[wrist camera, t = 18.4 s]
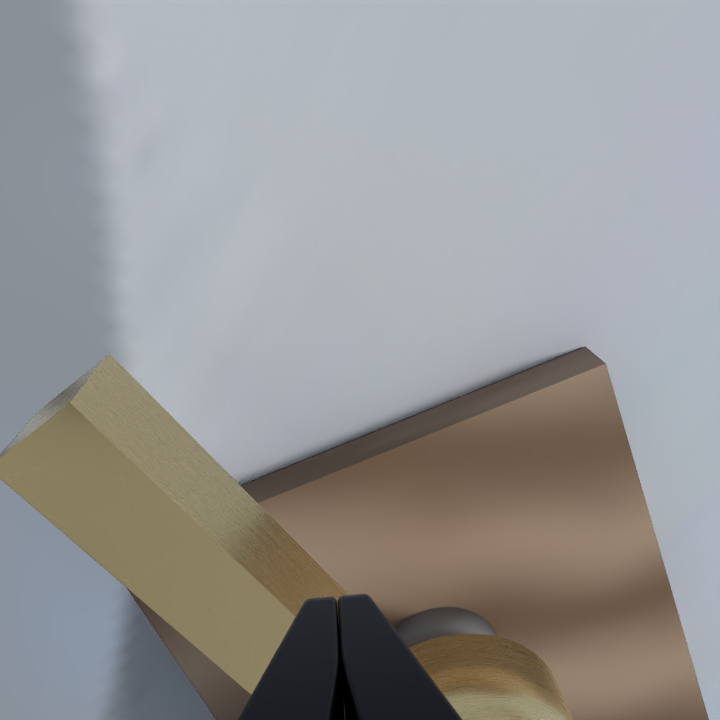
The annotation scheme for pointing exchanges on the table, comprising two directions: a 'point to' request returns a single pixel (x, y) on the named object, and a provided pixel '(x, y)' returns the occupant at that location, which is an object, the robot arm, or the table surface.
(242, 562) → the beige elongated piece
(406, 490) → the base
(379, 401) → the table surface
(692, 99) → the table surface
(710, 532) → the table surface
